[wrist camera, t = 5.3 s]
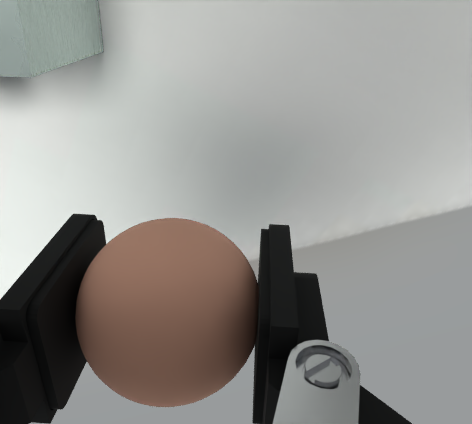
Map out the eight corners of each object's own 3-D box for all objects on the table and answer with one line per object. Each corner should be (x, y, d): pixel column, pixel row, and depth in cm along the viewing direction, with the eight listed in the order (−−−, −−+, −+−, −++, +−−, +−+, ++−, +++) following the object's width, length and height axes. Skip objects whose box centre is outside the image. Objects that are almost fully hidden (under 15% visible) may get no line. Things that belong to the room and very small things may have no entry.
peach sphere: (266, 193, 11) (267, 301, 7) (258, 320, 13) (255, 457, 9) (102, 184, 11) (18, 286, 8) (119, 311, 14) (59, 442, 10)
